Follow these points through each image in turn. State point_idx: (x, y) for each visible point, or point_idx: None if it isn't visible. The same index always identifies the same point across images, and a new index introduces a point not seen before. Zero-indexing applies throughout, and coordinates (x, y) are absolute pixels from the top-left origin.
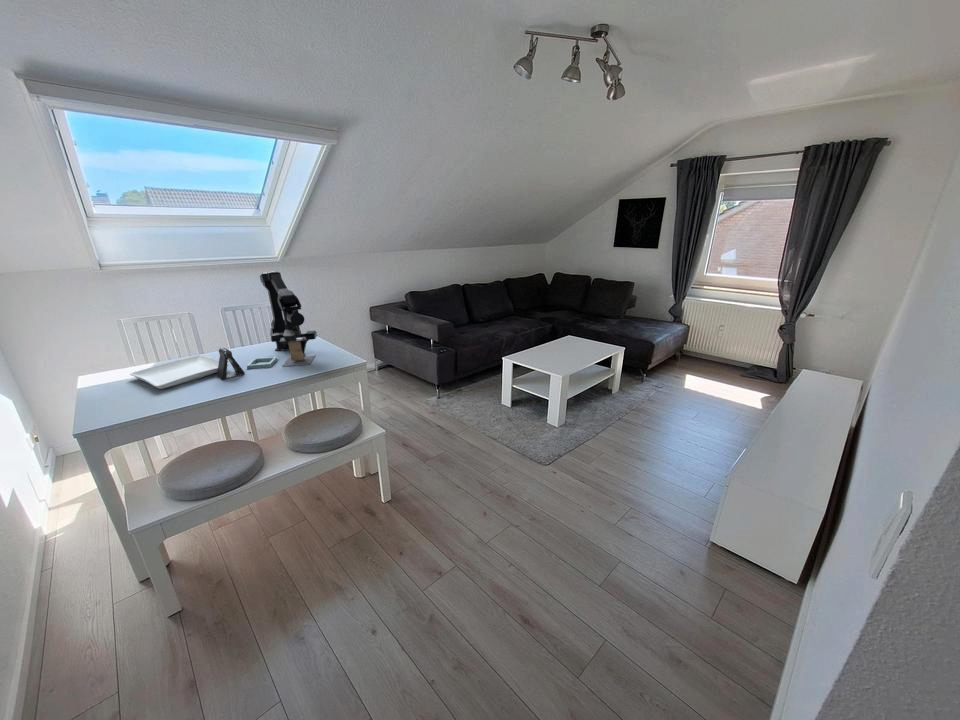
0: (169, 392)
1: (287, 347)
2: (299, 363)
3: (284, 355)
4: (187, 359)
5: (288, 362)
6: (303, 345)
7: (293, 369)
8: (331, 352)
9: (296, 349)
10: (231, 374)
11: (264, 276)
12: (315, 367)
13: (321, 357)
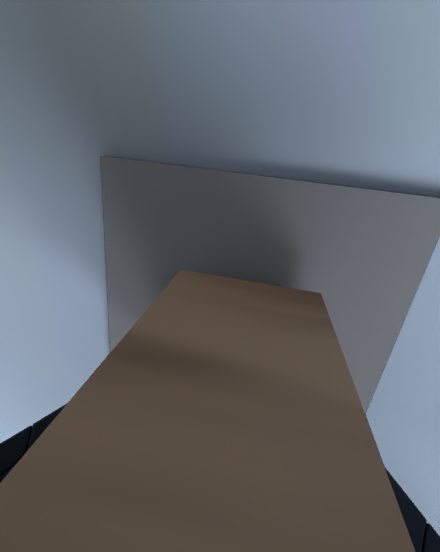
0: None
1: (428, 544)
2: (226, 219)
3: None
4: None
5: (358, 309)
6: (4, 464)
7: (294, 5)
8: (13, 426)
9: (199, 386)
10: None
11: None
12: (9, 5)
13: (53, 346)
